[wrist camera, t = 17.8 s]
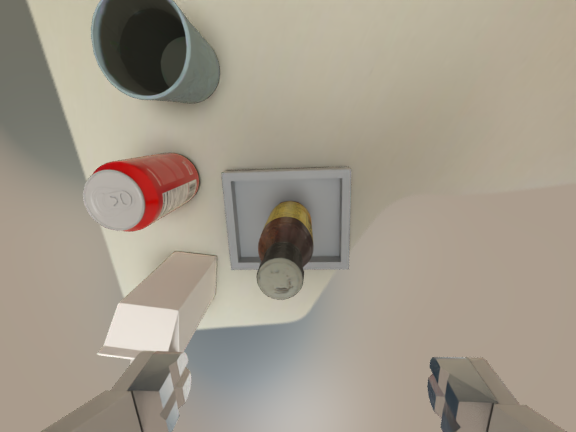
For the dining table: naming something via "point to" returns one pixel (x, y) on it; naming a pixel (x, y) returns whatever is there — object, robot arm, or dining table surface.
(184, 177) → the soda can
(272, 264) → the sauce bottle
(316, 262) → the tray
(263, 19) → the dining table surface
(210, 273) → the milk carton
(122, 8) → the blue gray cup
